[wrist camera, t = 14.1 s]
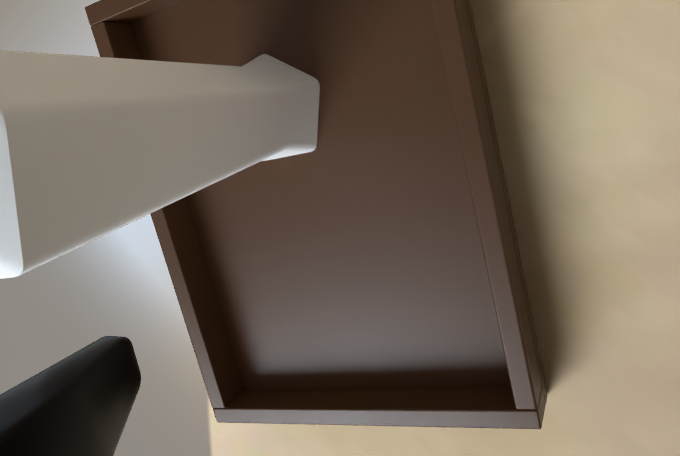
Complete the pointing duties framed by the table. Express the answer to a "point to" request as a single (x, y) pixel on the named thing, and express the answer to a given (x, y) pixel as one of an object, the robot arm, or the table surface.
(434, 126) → the tray
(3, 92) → the perfume bottle
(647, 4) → the table surface
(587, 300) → the table surface
